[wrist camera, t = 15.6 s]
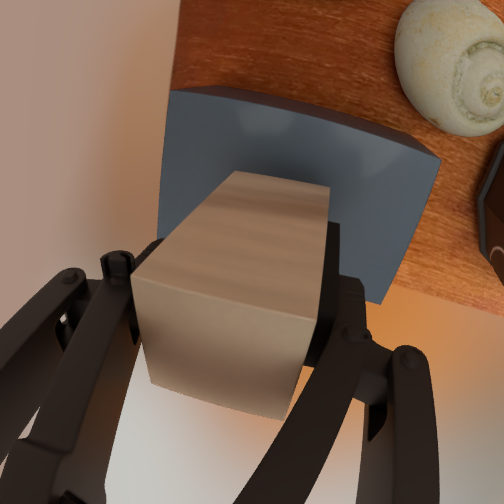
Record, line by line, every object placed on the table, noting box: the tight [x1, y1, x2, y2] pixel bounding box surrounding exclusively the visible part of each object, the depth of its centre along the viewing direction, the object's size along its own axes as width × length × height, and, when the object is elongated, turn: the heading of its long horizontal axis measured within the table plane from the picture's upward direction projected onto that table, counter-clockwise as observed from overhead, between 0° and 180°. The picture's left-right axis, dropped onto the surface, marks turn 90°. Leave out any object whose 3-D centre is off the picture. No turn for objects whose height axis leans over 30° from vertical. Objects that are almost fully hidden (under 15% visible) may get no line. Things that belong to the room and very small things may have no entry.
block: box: [130, 171, 330, 421], centre depth 13 cm, size 5×5×10 cm
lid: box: [157, 90, 442, 305], centre depth 21 cm, size 12×18×1 cm, turn 80°
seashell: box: [394, 0, 504, 137], centre depth 17 cm, size 13×8×10 cm
